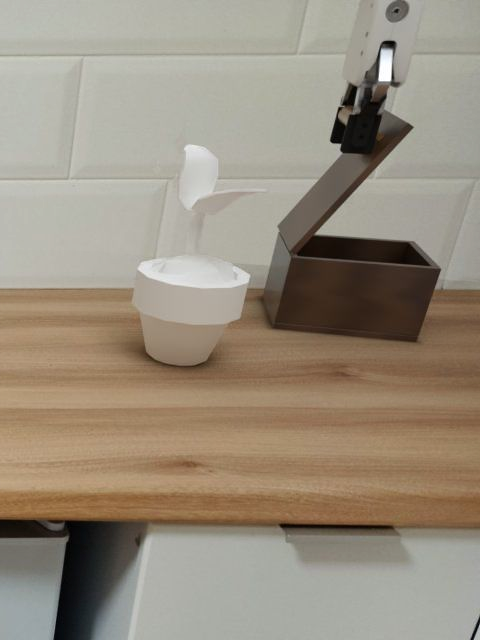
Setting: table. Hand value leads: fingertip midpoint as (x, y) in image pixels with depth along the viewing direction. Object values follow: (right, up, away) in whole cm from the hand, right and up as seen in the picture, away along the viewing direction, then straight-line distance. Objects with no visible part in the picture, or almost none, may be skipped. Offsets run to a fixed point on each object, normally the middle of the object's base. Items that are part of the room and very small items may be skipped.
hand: (349, 146), depth 102 cm
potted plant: (-21, -25, -3) cm, 33 cm away
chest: (+3, -18, +9) cm, 21 cm away
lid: (0, -4, +2) cm, 4 cm away
